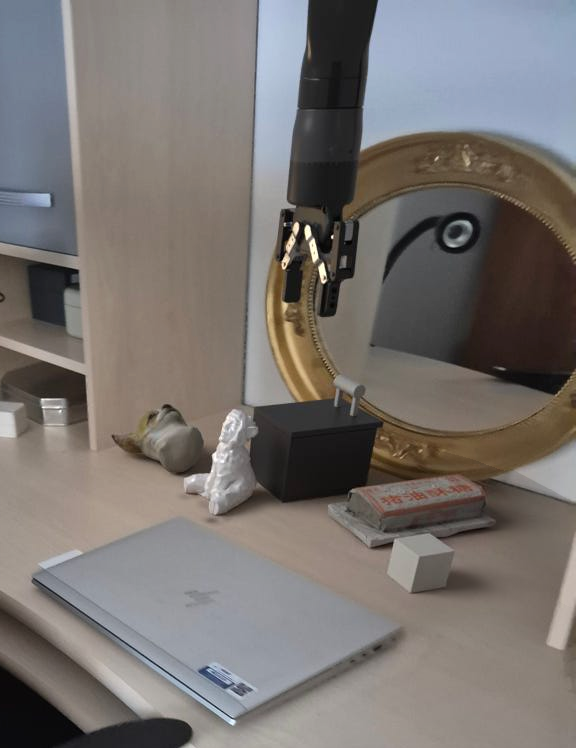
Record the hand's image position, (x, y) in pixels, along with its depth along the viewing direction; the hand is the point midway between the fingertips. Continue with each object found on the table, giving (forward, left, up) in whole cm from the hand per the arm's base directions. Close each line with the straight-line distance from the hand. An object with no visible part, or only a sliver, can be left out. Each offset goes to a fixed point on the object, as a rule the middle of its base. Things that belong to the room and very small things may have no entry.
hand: (307, 309), depth 102 cm
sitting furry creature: (+9, +1, -24) cm, 25 cm away
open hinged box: (-4, -1, -23) cm, 24 cm away
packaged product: (-10, +15, -24) cm, 29 cm away
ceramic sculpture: (+12, -14, -24) cm, 30 cm away
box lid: (-4, -1, -15) cm, 15 cm away
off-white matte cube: (-2, +28, -23) cm, 36 cm away
